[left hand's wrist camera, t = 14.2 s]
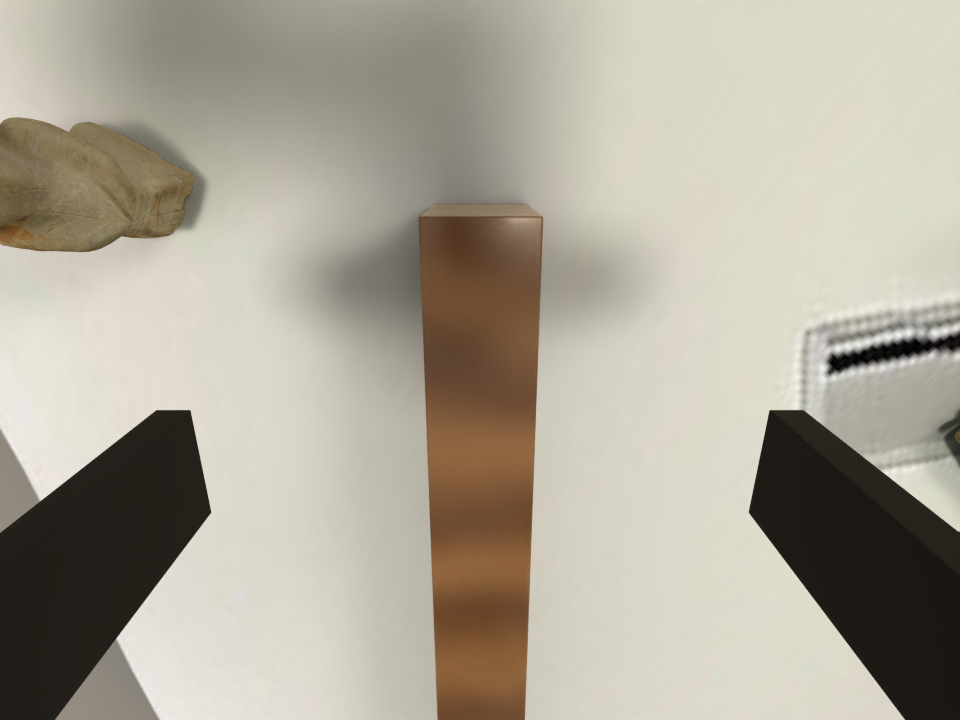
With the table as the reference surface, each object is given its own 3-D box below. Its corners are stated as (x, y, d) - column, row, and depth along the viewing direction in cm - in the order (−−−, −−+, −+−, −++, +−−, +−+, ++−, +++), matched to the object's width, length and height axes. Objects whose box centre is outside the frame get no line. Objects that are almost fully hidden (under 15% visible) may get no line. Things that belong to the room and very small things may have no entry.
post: (433, 204, 34) (418, 216, 25) (527, 204, 34) (543, 216, 25) (452, 863, 55) (447, 986, 47) (509, 863, 55) (515, 985, 47)
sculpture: (99, 103, 32) (-209, 53, 17) (219, 166, 33) (21, 167, 19) (74, 196, 33) (-226, 219, 19) (188, 252, 34) (-15, 314, 20)
